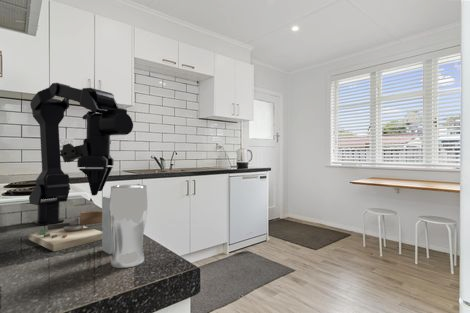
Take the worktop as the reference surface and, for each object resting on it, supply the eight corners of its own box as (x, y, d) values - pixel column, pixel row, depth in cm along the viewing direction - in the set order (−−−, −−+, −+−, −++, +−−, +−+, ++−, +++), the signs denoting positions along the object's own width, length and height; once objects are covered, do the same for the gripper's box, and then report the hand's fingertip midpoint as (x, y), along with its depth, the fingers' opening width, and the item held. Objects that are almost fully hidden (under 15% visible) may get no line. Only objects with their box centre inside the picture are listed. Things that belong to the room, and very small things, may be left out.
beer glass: (133, 271, 47) (134, 188, 47) (100, 267, 49) (101, 187, 49) (153, 257, 54) (154, 185, 54) (123, 254, 55) (124, 183, 56)
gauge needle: (47, 233, 63) (47, 217, 63) (47, 229, 67) (47, 213, 67) (104, 226, 70) (104, 211, 70) (102, 223, 74) (102, 209, 74)
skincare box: (127, 243, 62) (127, 193, 62) (136, 248, 59) (137, 195, 59) (100, 250, 57) (101, 195, 58) (109, 255, 55) (110, 198, 55)
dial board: (28, 239, 65) (28, 231, 65) (77, 229, 74) (77, 222, 74) (53, 251, 56) (54, 242, 56) (105, 238, 66) (105, 230, 66)
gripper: (73, 137, 77) (71, 189, 77) (52, 131, 59) (51, 199, 59) (114, 138, 81) (113, 189, 81) (106, 133, 63) (105, 197, 63)
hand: (97, 193), depth 71 cm, fingers open, 9 cm apart
